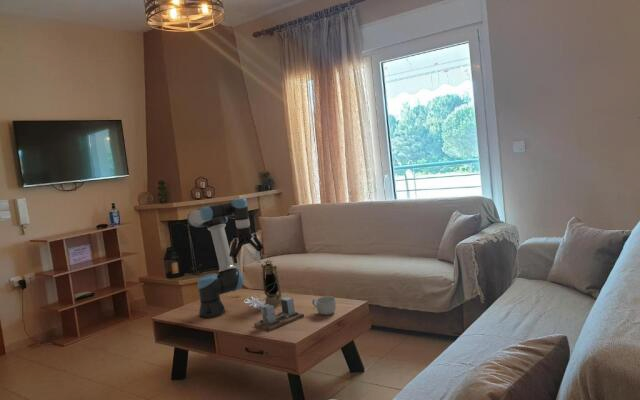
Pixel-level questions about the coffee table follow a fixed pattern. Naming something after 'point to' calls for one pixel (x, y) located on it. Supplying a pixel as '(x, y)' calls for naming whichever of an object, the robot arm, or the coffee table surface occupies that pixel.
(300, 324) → the coffee table surface
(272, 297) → the lantern
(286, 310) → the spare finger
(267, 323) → the finger rail
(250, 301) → the coffee table surface
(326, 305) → the teacup
